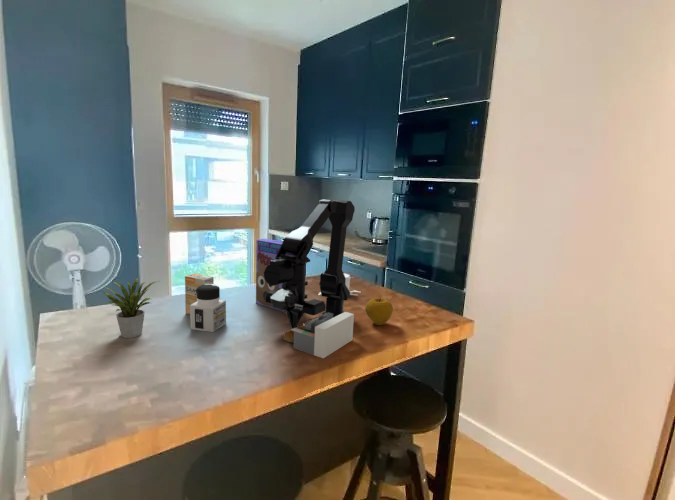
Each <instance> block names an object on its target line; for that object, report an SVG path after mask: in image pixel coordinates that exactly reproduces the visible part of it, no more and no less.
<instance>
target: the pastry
mask: <svg viewBox="0 0 675 500" xmlns="http://www.w3.org/2000/svg"><path fill="white" fill-rule="evenodd" d="M297 329H301V330H304V331H305V326H303V325H302V326H301V325H300V326H299V325H298V326H297ZM283 339H284V341H286V342H288V343H291V344H292V343H294V331H293V330H291V329H290V330H288V331H286V332H285V333H284V335H283Z"/></svg>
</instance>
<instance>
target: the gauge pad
mask: <svg viewBox="0 0 675 500" xmlns="http://www.w3.org/2000/svg"><path fill="white" fill-rule="evenodd" d="M332 318H333V314H332V313H329V312H327V313H325V314H321V315H319V316H315V317H314V318H311V319H309V320H307V321H304V322H302V326H305V331H307V332H310V333H313V334H315V327H316V326H318V325H320V324H322V323H324V322H326V321H328V320H330V319H332Z"/></svg>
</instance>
